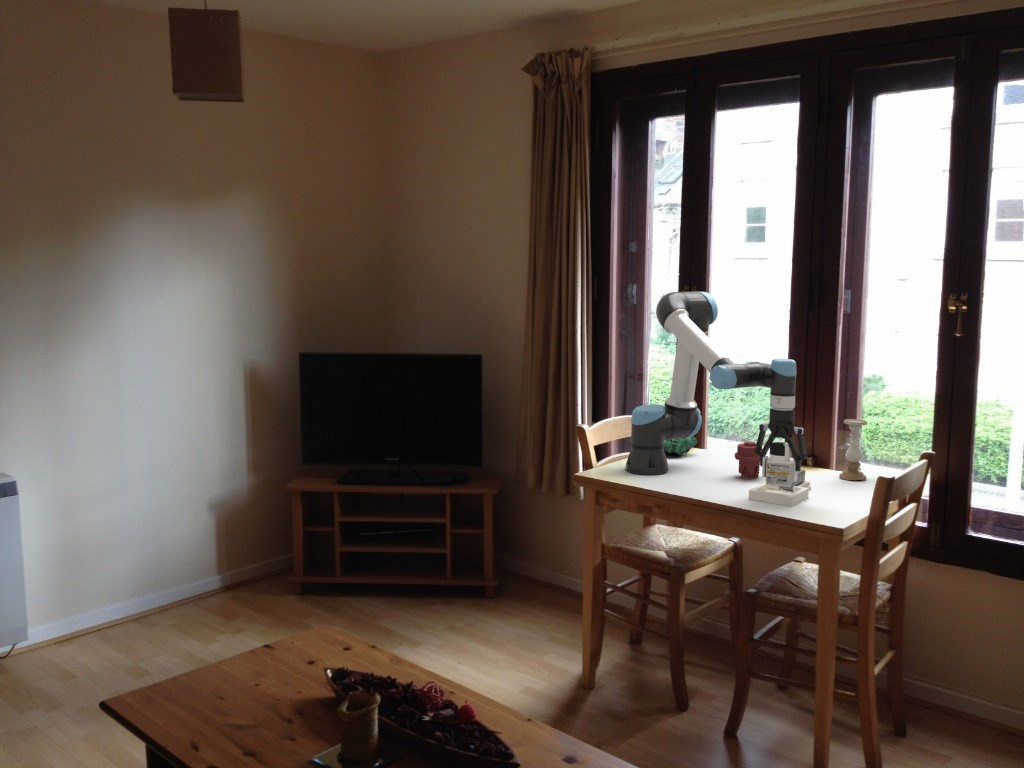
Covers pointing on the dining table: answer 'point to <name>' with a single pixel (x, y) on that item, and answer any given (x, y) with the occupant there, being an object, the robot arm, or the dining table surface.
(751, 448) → the mechanical component
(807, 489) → the dock socket
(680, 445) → the mineral
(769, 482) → the container
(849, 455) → the candle holder
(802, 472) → the grey rectangular block
